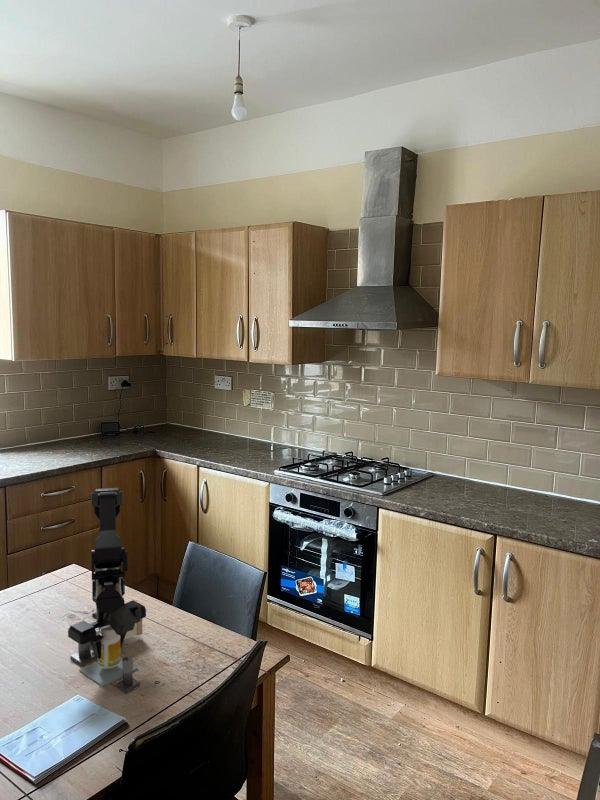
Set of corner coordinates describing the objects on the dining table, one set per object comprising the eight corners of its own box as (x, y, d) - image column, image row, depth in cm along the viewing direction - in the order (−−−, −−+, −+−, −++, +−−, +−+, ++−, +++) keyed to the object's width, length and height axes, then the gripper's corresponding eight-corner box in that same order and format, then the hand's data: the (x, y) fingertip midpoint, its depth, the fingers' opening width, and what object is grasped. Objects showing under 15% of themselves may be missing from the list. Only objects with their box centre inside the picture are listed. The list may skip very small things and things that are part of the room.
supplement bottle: (123, 657, 152) (122, 621, 151) (117, 669, 147) (117, 632, 145) (101, 657, 152) (101, 620, 151) (94, 669, 146) (94, 631, 145)
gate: (93, 651, 155) (93, 633, 154) (90, 649, 156) (90, 630, 155) (142, 633, 164) (142, 616, 164) (139, 631, 166) (139, 614, 165)
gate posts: (70, 659, 154) (69, 629, 153) (87, 651, 158) (87, 622, 157) (123, 694, 140) (123, 662, 139) (141, 684, 144) (141, 653, 143)
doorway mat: (79, 671, 149) (79, 669, 149) (114, 654, 156) (114, 653, 156) (103, 687, 142) (103, 685, 142) (138, 669, 150) (138, 667, 150)
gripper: (93, 618, 135) (94, 683, 137) (160, 591, 149) (159, 650, 151) (66, 603, 142) (67, 664, 144) (132, 578, 156) (132, 634, 158)
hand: (108, 653), depth 149 cm, fingers closed on supplement bottle, 5 cm apart
